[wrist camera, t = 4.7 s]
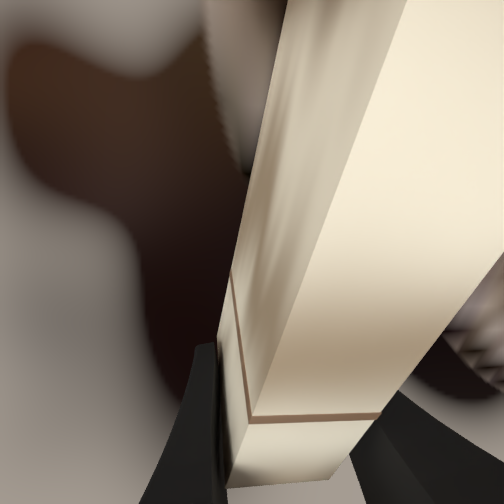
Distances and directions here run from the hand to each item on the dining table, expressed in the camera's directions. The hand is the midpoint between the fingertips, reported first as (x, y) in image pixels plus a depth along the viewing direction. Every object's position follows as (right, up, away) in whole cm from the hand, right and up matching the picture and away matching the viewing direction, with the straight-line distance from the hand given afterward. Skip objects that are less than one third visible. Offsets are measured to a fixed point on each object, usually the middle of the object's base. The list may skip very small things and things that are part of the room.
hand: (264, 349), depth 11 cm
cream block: (+1, +5, -2) cm, 5 cm away
